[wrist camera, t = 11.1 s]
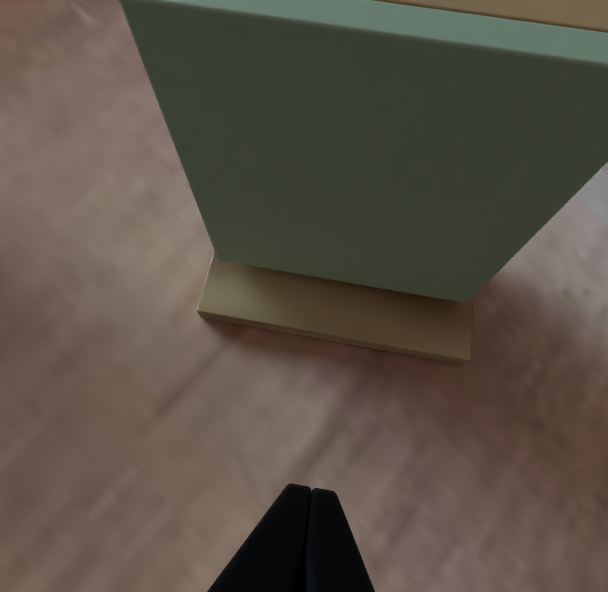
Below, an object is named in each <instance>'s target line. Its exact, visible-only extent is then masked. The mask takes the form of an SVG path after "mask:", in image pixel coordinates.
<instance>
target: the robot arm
mask: <svg viewBox="0 0 608 592" xmlns="http://www.w3.org/2000/svg"><path fill="white" fill-rule="evenodd" d="M207 592H375V591H374V588H373V586H372V583H371V580H370V578H369V575H368V573H367V570H366V568H365V565H364V563H363V560H362V557H361V555H360V552H359V550H358V547H357V545H356V542H355V539H354V537H353V534H352V532H351V529H350V527H349V524H348V522H347V519H346V516H345V514H344V511H343V509H342V506H341V504H340V501H339V498H338V496H337V494H336V493H335V492H334V491H331V490H325V489H320V488H314V489H313V490H312V492H311V489H310V487H308V486H303V485H297V484H291V483H290V484H288V485H287V486H286V487H285V488H284V490H283V491H282V492H281V494H280V495H279V496H278V498H277V499H276V500H275V502H274V503H273V504H272V506H271V507H270V508H269V510H268V511H267V512H266V514H265V515H264V516H263V518H262V519H261V520H260V522H259V523H258V524H257V526H256V527H255V528H254V530H253V531H252V532H251V534H250V535H249V536H248V538H247V539H246V540H245V542H244V543H243V544H242V546H241V547H240V548H239V550H238V551H237V552H236V554H235V555H234V556H233V558H232V559H231V561H230V562H229V563H228V565H227V566H226V567H225V569H224V570H223V571H222V573H221V574H220V575H219V577H218V578H217V579H216V581H215V582H214V583H213V585H212V586H211V587H210V589H209V590H208V591H207Z"/></svg>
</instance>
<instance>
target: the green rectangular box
mask: <svg viewBox="0 0 608 592" xmlns="http://www.w3.org/2000/svg"><path fill="white" fill-rule="evenodd" d="M119 1H120V4H121V6H122V9H123V12H124V14H125V17H126V20H127V22H128V25H129V27H130V30H131V33H132V35H133V38H134V41H135V43H136V46H137V48H138V51H139V54H140V56H141V59H142V61H143V64H144V67H145V69H146V72H147V75H148V77H149V80H150V82H151V85H152V88H153V90H154V93H155V96H156V98H157V101H158V103H159V106H160V109H161V111H162V114H163V117H164V119H165V122H166V124H167V127H168V130H169V132H170V135H171V137H172V140H173V143H174V145H175V148H176V151H177V153H178V156H179V158H180V161H181V164H182V166H183V169H184V172H185V174H186V177H187V179H188V182H189V185H190V187H191V190H192V192H193V195H194V198H195V200H196V203H197V206H198V208H199V211H200V213H201V216H202V219H203V221H204V224H205V227H206V229H207V232H208V234H209V237H210V240H211V242H212V245H213V247H214V250H215V253H216V255H217V258H218V260H221V261H227V262H233V263H238V264H244V265H250V266H255V267H261V268H267V269H273V270H278V271H284V272H290V273H296V274H301V275H307V276H313V277H319V278H324V279H330V280H336V281H342V282H347V283H353V284H359V285H365V286H370V287H376V288H382V289H387V290H393V291H399V292H405V293H410V294H416V295H422V296H428V297H433V298H439V299H445V300H451V301H456V302H462V303H467V302H468V301H469V300H470V299H471V298H472V297H473V296H474V295H475V294H476V293H477V292H478V291H479V290H480V289H481V288H482V287H483V286H484V285H485V284H486V283H487V282H488V281H489V280H490V279H491V278H492V277H493V276H494V275H495V274H496V273H497V272H498V271H499V270H500V269H501V268H502V267H503V266H504V265H505V264H506V263H507V262H508V261H509V260H510V259H511V258H512V257H513V256H514V255H515V254H516V253H517V252H518V251H519V250H520V249H521V248H522V247H523V246H524V245H525V244H526V243H527V242H528V241H529V240H530V239H531V238H532V237H533V236H534V235H535V234H536V233H537V232H538V231H539V230H540V229H541V228H542V227H543V226H544V225H545V224H546V223H547V222H548V221H549V220H550V219H551V218H552V217H553V216H554V215H555V214H556V213H557V212H558V211H559V210H560V209H561V208H562V207H563V206H564V205H565V204H566V203H567V202H568V201H569V200H570V199H571V198H572V197H573V196H574V195H575V194H576V193H577V192H578V191H579V190H580V189H581V188H582V187H583V186H584V185H585V184H586V183H587V182H588V181H589V180H590V179H591V178H592V177H593V176H594V175H595V174H596V173H597V172H598V171H599V170H600V169H601V168H602V167H603V166H604V165H605V164H606V163H607V162H608V0H119Z"/></svg>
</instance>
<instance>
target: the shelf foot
mask: <svg viewBox="0 0 608 592" xmlns="http://www.w3.org/2000/svg"><path fill="white" fill-rule="evenodd" d="M197 312H198V314H199V315H200V317H201V318H207V319H212V320H218V321H223V322H229V323H234V324H240V325H245V326H251V327H256V328H262V329H267V330H273V331H278V332H284V333H289V334H294V335H300V336H305V337H311V338H316V339H322V340H327V341H333V342H338V343H344V344H349V345H355V346H360V347H366V348H371V349H377V350H382V351H388V352H393V353H399V354H404V355H410V356H415V357H421V358H426V359H432V360H437V361H443V362H448V363H454V364H459V365H464V364H465V363H467V362H468V361H470V355H471V334H472V314H473V297H472V298H471V299H470V300H469V301H468V302H467V303H462V302H456V301H451V300H445V299H439V298H433V297H428V296H422V295H416V294H410V293H405V292H399V291H393V290H387V289H382V288H376V287H370V286H365V285H359V284H353V283H347V282H342V281H336V280H330V279H324V278H319V277H313V276H307V275H301V274H296V273H290V272H284V271H278V270H273V269H267V268H261V267H255V266H250V265H244V264H238V263H233V262H227V261H221V260H218V258H217V255H216V253H215V250H214V253H213V257H212V260H211V263H210V267H209V270H208V274H207V277H206V280H205V284H204V287H203V291H202V294H201V297H200V301H199V304H198V308H197Z"/></svg>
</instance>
